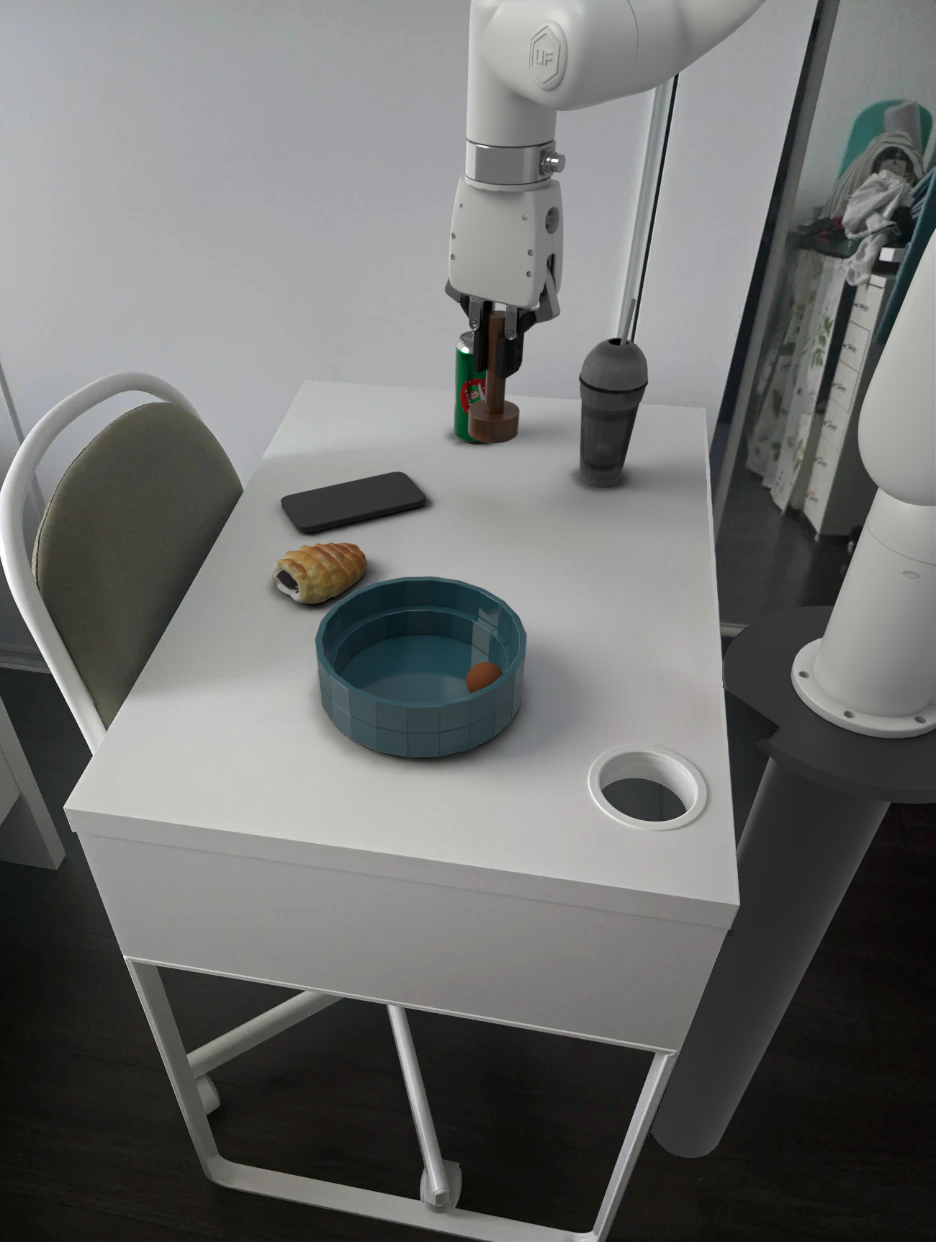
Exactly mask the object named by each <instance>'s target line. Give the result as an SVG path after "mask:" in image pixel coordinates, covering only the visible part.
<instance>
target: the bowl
mask: <svg viewBox="0 0 936 1242" xmlns="http://www.w3.org/2000/svg"><path fill="white" fill-rule="evenodd" d="M320 620H321V621H320V622H319V625H318V628H317V631H316V635H315V637H314V643H315V645H314V646H315V654H316V655H315V656H316V664H317V672H318V673H317V675H318V683H319V692H320V699H321V706H322V708H323V710H324V712H325V713H326V715H327V717H328V719H330V721H331V723H332V724H333V726H334V727H335V728H336V729H338V731H340V732H341V733H342V734H344V735H345V736H346V737H348V739H350V740H351V741H353V742H355V743H358V744H360V745H362V746H363V747H366V748H369V749H371V750H373V751H375V752H379V753H383V754H387V755H393V756H398V757H404V758H438V757H443V756H444V757H445V756H448V755H452V754H453V755H454V754H458V753H461V752H462V753H463V752H466V751H469V750H472V749H473V748H476V747H478V746H480V745H482V744H484V743H486V742H488V741H490V740H493V739H494V738H495V737H496V736H497V735H498V734H499V733H500V732H501V731H502V730H503V729H505V728H506V727H507V726H508V725H509V724H510V723H511V722H512V721H513V719H514V717H515V715H516V713H517V711H518V710H519V708H520V705H521V704H522V697H523V686H524V675H525V664H526V654H527V636H528V635H527V631H526V629H525V627H524V624H523V622H522V619H521V618H520V616H519V615H518V613H516V611H514V609H513V608H512V607H511V606H510V605H509V604H508V603H507V602H506V601H505V600H504V599H502V598H500V597H499V596H497V595H496V594H494V593H492V592H490V591H489V590H487V589H485V588H483V587H481V586H477V585H475V584H472V583H468V582H465V581H463V580H459V579H453V578H447V577H439V576H430V575H429V576H425V575H424V576H402V577H397V578H391V579H386V580H381V581H377V582H374V583H371V584H369V585H366V586H363V587H361V588H358V589H356V590H354V591H352V592H350V593H349V594H347V595H346V596H344V597H343V598H342V599H340V600H338V601H337V602H336V603H335V604H333V606H331V608H330V609H329V610H328V611H327V613H325V615H324V616H323V617H322V619H320ZM481 662H490V663H493V664H495V665H496V666H498V667H499V668H500V669H501V671H502V673H503V675H502V676H501V677H499V678H498V679H497V680H496V681H495V682H494V683H492V684H491V685H489V686H487V687H485V688H482V689H480V690H478V691H476V692H474V693H472V694H471V693H470V692H469V691H468V688H467V685H466V677H467V674H468V672H469V670H470V669H471V668H472V667H473V666H474V665H476V664H478V663H481Z"/></svg>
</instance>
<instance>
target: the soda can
mask: <svg viewBox="0 0 936 1242" xmlns="http://www.w3.org/2000/svg"><path fill="white" fill-rule="evenodd" d="M458 339H459V340H458V341H457V343H456V344H455V362H454V364H455V365H454V403H453V404H454V405H453V407H454V408H453V409H454V411H453V433H454V435H455V436H456V437H457V438H458V439H459V440H460V441H463V442H465V443H469V444H470V443H471V444H477V443H478V444H479V443H482V442H481V441H478V440H476V439H474V438H472V437H471V436H470V435H469V433H468V419H469V408H470V406H471V405H472V404H473V403H475V402H478V401H481V400H485V389H486V370H485V371H483V372H481V373H478V372H475V371H474V360H475V359H474V357H473V348H474V330H468V331H465V332H462V333H461V334H460V335H459V337H458Z"/></svg>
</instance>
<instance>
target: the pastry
mask: <svg viewBox="0 0 936 1242" xmlns="http://www.w3.org/2000/svg"><path fill="white" fill-rule="evenodd" d="M367 566H368V561H367V557H366V554H365V553H364V552H363V551H362V550H361V549H360V547H359V546H358V545H357V544H354V543H349V542H337V543H334V542H328V543H325V544H323V543H315V544H314V545H308V544H304V545H302V546H300V547H299V549H298V550H288V551H287V552H286V553H285V554H284V556H283V557H282V558H279V559H278V560H277V561H276V563H275V565H274V566H273V569H272V571H271V579H272V580H273V581H274V583H275V584H276V587H277V589H278V590H279V591H280V592H282V593H284V594H286V595H287V596H289V597H291V599H293V600H294V601H295V602H297V603H300V604H309V605H317V604H320V603H325V602H326V600H328V599H330V598H332V597H333V598H335V597H337V596H339V595H340V594H341V595H342V593H343V592H344V591H345V590H348V589H349V588H350V587H351V586H353V585H354V584H355V583H357V582H358V581H359V580H360V579H361V578H362V577H363V575H364V574H365V572H366V570H367Z"/></svg>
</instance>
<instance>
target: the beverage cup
mask: <svg viewBox="0 0 936 1242" xmlns="http://www.w3.org/2000/svg"><path fill="white" fill-rule="evenodd" d="M636 303H637V299H636V298H635V297H634V298H631V299H630V303H629V306H628V310H627V315H626V320H625V323H624V327H623V332H622V336H621V337H611V338H607V339H604V340H602V341H601V342H599V343H598V344H596V345H595V346H594V347H593V348H592V349H591V350H590V351H589V352H588V354H587V355H586V357H585V359H584V361H583V363H582V366H581V371H580V372H579V375H578V381H579V393H580V399H581V403H580V405H581V406H580V407H581V409H580V436H579V437H580V439H579V442H580V443H579V479H580V480H581V482H583V483H584V484H585V485H588V486H591V487H595V488H608V487H609V488H610V487H613V486H615V485H617V484H618V483H619V482H620V478H621V475H622V473H623V472H622V471H623V469H624V466H625V462H626V460H627V459H626V458H627V454H628V450H629V446H630V443H631V438H632V435H633V430H634V426H635V423H636V419H637V414H638V411H639V407H640V404H641V402H642V400H643V398H644V394H645V392H646V388H647V386H648V385H649V376H648V375H649V374H648V373H649V370H648V369H649V368H648V361H647V359H646V356H645V354H644V352H643V351H642V349H641V348H640V347H639V346H638V344H636V343H635V342H634V341H632V340H630V339H628V337H629V332H630V329H631V324H632V320H633V316H634V312H635V307H636Z"/></svg>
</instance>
